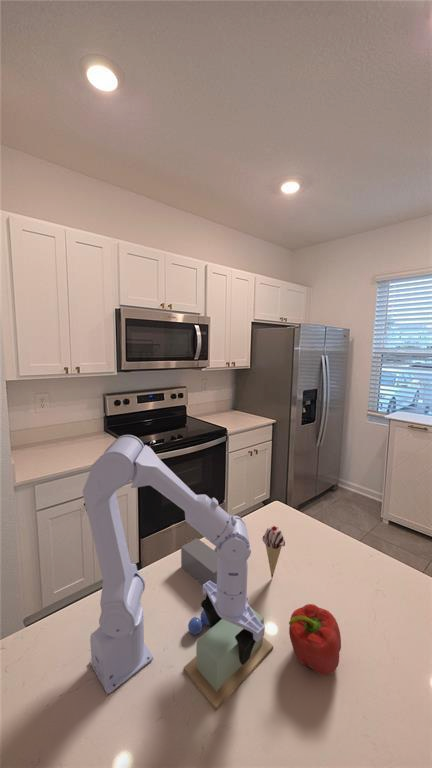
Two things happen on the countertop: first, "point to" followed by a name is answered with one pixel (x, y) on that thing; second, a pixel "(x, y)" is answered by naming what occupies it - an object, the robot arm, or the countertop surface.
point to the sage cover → (221, 652)
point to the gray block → (199, 561)
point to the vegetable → (315, 638)
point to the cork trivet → (233, 681)
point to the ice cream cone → (273, 546)
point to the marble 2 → (204, 618)
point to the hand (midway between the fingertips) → (230, 645)
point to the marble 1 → (195, 626)
